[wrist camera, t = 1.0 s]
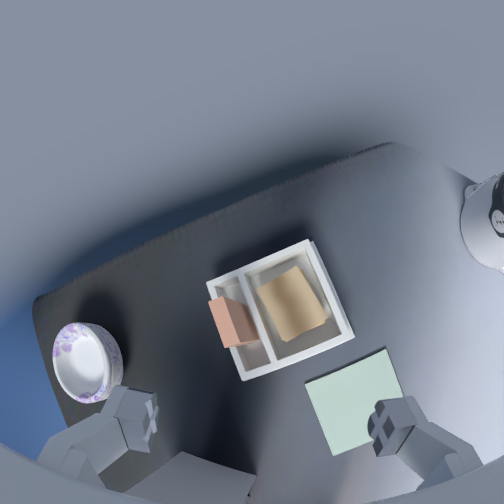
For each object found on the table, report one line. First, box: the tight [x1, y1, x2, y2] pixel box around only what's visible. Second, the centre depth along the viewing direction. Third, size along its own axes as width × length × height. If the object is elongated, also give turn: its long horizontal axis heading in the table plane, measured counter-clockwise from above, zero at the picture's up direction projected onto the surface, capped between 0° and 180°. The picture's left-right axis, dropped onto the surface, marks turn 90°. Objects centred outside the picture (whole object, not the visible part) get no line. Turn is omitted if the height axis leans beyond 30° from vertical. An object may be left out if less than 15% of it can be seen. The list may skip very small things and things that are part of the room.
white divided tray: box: [206, 239, 355, 381], centre depth 46 cm, size 19×17×5 cm
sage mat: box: [305, 349, 403, 456], centre depth 42 cm, size 14×14×1 cm
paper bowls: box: [53, 322, 123, 403], centre depth 49 cm, size 15×15×8 cm
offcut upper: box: [256, 266, 328, 342], centre depth 44 cm, size 7×9×2 cm
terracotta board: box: [208, 296, 260, 348], centre depth 42 cm, size 2×6×13 cm, turn 21°
